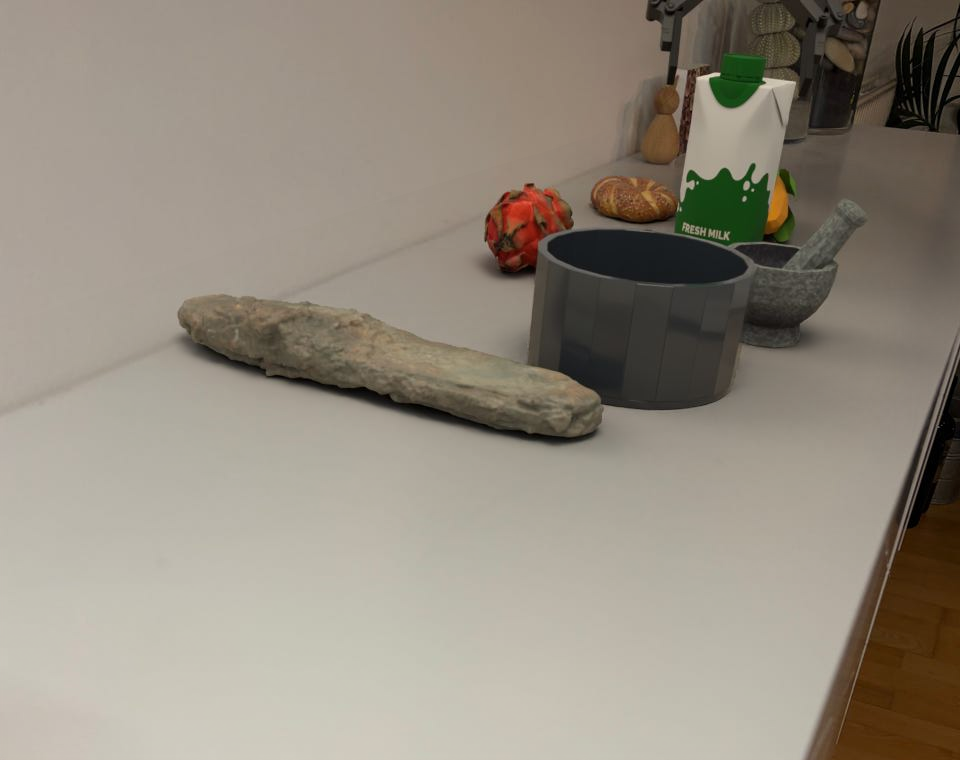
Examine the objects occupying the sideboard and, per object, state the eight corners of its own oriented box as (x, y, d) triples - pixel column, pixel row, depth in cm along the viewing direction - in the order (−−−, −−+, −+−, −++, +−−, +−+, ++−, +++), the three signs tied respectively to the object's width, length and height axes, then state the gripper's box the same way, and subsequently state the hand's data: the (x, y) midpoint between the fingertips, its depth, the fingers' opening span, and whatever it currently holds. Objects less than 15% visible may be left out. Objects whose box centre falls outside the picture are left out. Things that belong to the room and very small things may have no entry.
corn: (795, 152, 132) (815, 184, 116) (785, 217, 136) (803, 258, 120) (733, 151, 133) (744, 182, 116) (725, 216, 137) (735, 255, 121)
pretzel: (676, 229, 128) (681, 195, 126) (584, 219, 129) (588, 186, 127) (677, 207, 138) (681, 176, 136) (592, 198, 139) (595, 167, 137)
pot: (748, 358, 91) (771, 248, 86) (710, 425, 78) (735, 300, 73) (563, 324, 95) (574, 217, 90) (498, 382, 82) (507, 261, 77)
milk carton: (658, 269, 113) (691, 52, 101) (690, 252, 119) (724, 47, 108) (738, 286, 109) (782, 63, 98) (766, 268, 116) (810, 57, 105)
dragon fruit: (557, 271, 115) (505, 315, 107) (500, 212, 114) (443, 252, 106) (605, 214, 109) (554, 256, 101) (545, 151, 108) (489, 188, 100)
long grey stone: (563, 481, 72) (614, 438, 79) (578, 405, 69) (629, 368, 77) (143, 343, 82) (225, 318, 90) (141, 273, 79) (226, 253, 87)
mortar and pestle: (704, 344, 93) (731, 197, 86) (709, 313, 101) (735, 175, 94) (837, 362, 91) (876, 214, 85) (832, 329, 99) (867, 191, 92)
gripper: (862, -55, 118) (850, 117, 114) (633, -73, 119) (613, 96, 115) (885, -115, 110) (873, 66, 106) (640, -134, 112) (620, 44, 108)
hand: (738, 82), depth 111 cm, fingers open, 13 cm apart
